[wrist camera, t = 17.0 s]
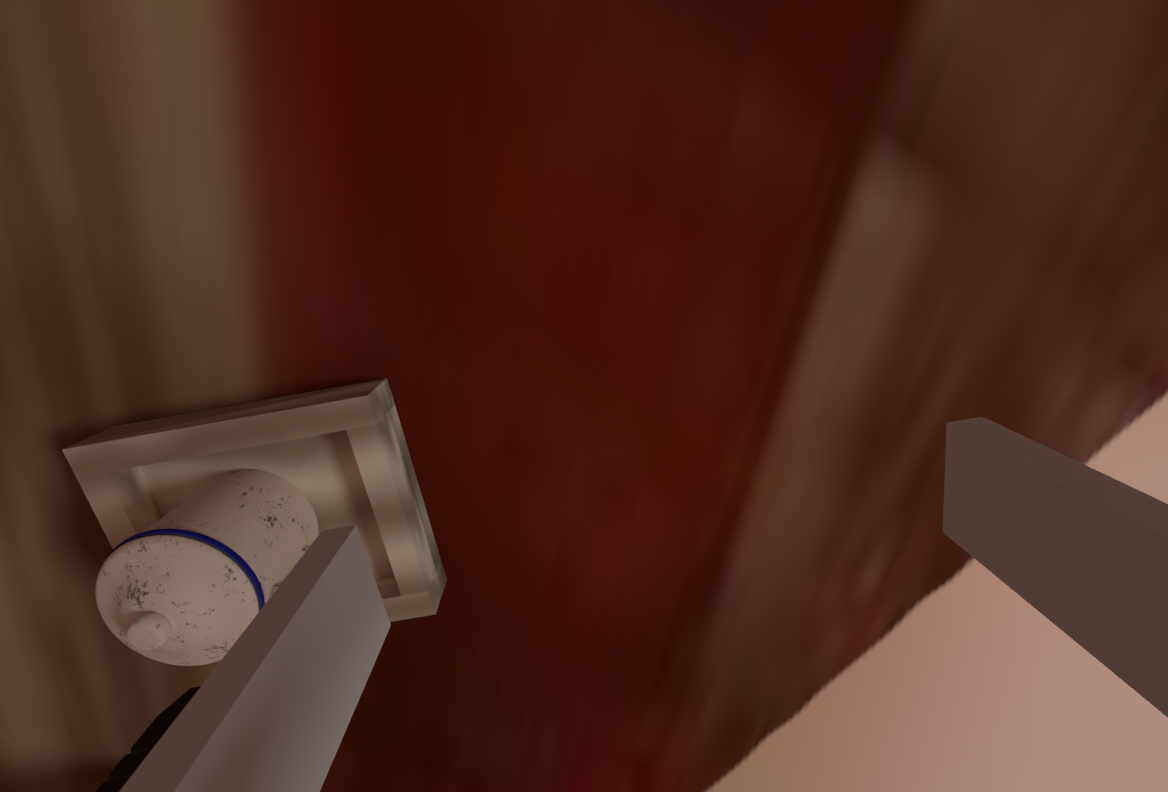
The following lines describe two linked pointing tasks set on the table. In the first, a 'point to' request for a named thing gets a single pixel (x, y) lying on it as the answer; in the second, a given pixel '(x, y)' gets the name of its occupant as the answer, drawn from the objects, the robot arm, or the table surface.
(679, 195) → the table surface
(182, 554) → the teacup with lid
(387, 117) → the table surface
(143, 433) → the square tray
